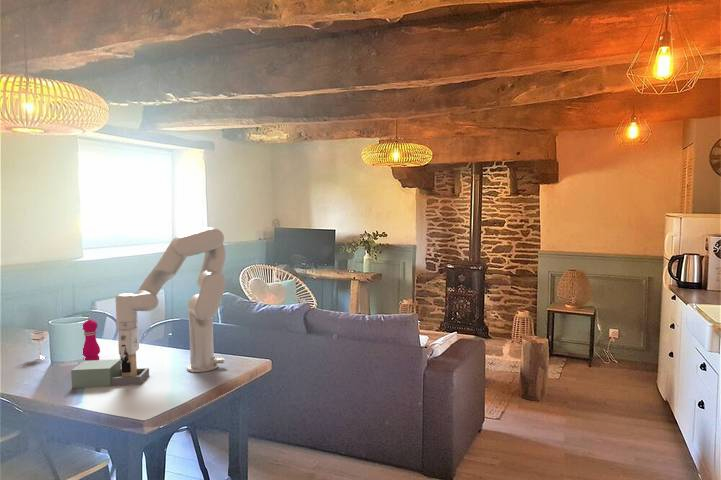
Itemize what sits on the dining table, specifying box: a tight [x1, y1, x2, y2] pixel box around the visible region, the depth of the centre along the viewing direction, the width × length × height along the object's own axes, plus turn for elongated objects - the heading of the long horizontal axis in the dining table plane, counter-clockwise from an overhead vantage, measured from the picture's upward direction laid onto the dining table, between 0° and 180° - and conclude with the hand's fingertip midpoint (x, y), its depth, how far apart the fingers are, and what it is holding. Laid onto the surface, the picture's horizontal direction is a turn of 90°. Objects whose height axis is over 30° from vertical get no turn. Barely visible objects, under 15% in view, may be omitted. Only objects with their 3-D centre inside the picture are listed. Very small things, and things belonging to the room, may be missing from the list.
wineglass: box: [30, 329, 49, 360], centre depth 235 cm, size 7×7×12 cm
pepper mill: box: [82, 316, 101, 361], centre depth 229 cm, size 7×7×20 cm
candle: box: [121, 353, 137, 377], centre depth 202 cm, size 6×6×10 cm
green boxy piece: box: [70, 358, 150, 389], centre depth 201 cm, size 25×12×7 cm, turn 96°
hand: (129, 369), depth 202 cm, fingers open, 5 cm apart
